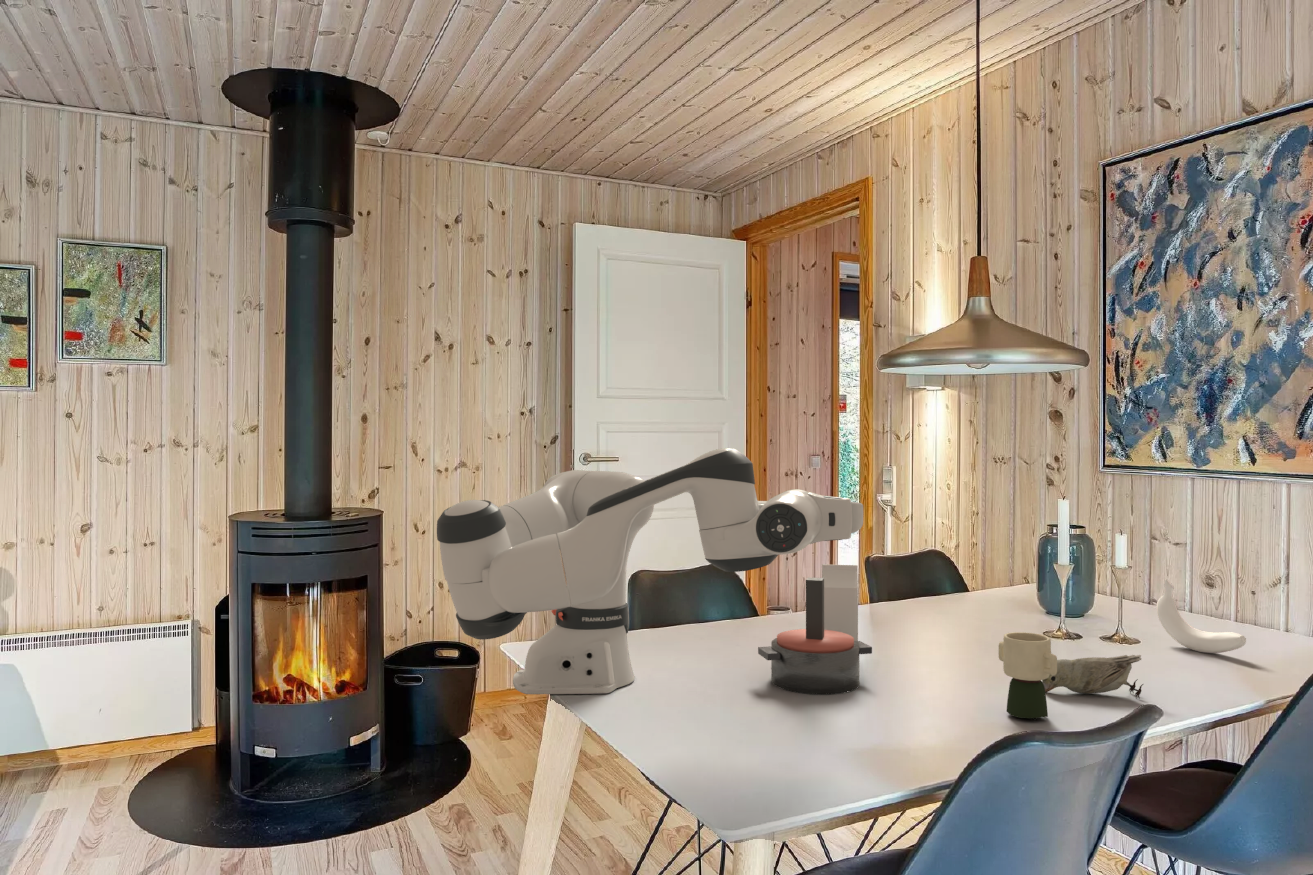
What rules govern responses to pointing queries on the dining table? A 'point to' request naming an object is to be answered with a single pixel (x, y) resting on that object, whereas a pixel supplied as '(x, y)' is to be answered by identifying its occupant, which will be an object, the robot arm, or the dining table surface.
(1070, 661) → the decorative bird
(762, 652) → the pot
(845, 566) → the milk carton
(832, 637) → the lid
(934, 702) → the dining table surface
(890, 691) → the dining table surface
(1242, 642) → the banana
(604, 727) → the dining table surface
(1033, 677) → the character mug
